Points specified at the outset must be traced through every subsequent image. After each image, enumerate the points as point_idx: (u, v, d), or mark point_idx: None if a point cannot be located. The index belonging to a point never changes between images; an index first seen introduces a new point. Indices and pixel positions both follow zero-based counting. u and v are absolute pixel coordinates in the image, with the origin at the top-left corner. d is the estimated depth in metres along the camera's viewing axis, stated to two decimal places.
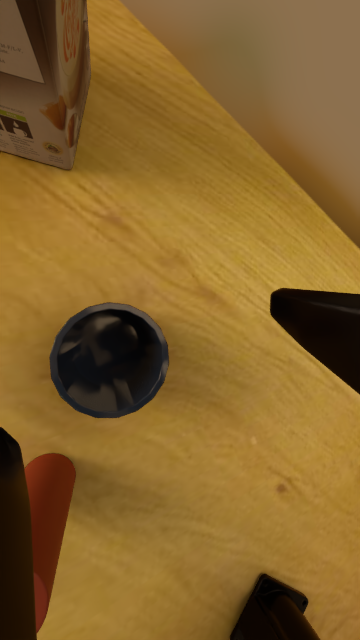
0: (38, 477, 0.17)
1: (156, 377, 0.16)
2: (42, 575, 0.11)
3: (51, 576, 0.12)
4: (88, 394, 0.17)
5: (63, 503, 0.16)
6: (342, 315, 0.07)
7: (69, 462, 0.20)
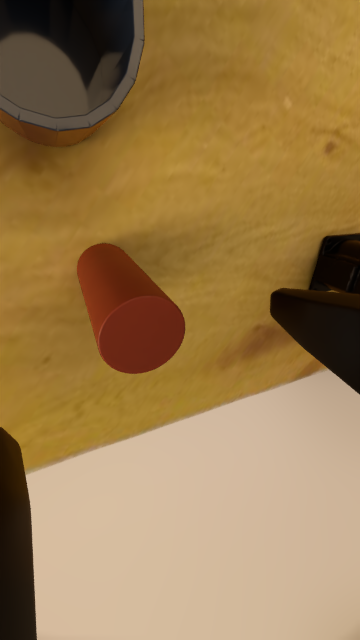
0: (92, 262, 0.15)
1: (126, 1, 0.09)
2: (159, 295, 0.11)
3: (167, 296, 0.12)
4: None
5: (133, 263, 0.15)
6: (342, 315, 0.07)
7: (111, 245, 0.18)
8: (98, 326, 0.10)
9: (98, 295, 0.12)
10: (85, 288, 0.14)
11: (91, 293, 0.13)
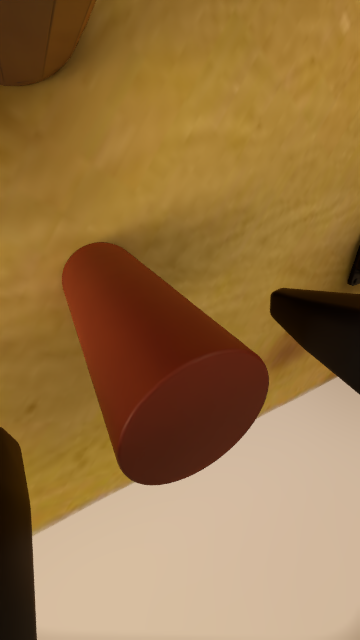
0: (86, 274, 0.10)
1: None
2: (233, 345, 0.05)
3: None
4: None
5: (151, 273, 0.09)
6: (342, 315, 0.07)
7: (109, 244, 0.12)
8: (115, 422, 0.05)
9: (104, 344, 0.06)
10: (78, 320, 0.09)
11: (90, 335, 0.07)
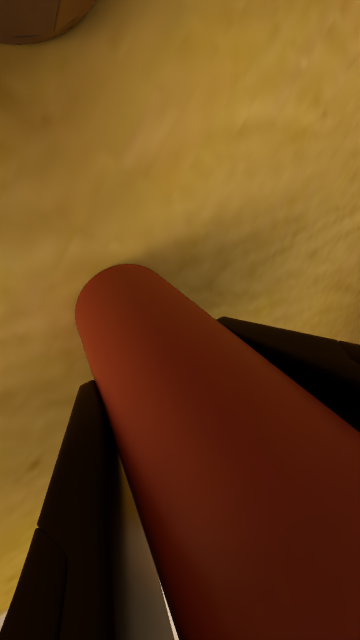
0: (115, 320, 0.07)
1: None
2: None
3: None
4: None
5: (210, 320, 0.06)
6: (272, 356, 0.06)
7: (136, 266, 0.09)
8: None
9: (177, 492, 0.03)
10: (108, 398, 0.06)
11: (139, 447, 0.04)
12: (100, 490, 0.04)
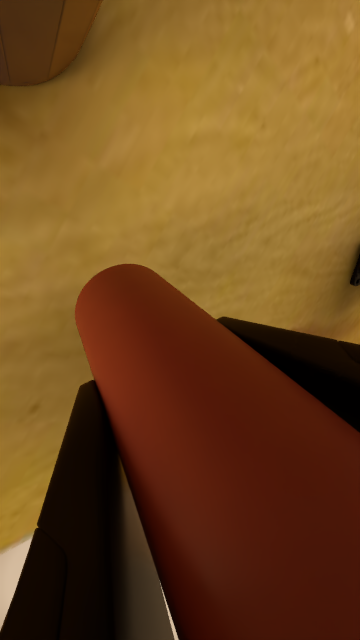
0: (115, 319, 0.07)
1: None
2: None
3: None
4: None
5: (210, 319, 0.06)
6: (272, 356, 0.06)
7: (136, 266, 0.09)
8: None
9: (176, 491, 0.03)
10: (108, 397, 0.06)
11: (138, 447, 0.04)
12: (100, 490, 0.04)
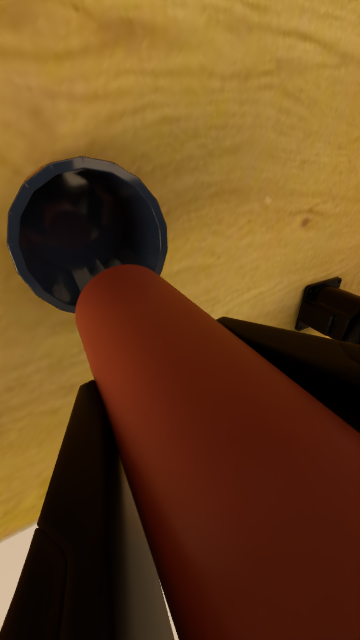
0: (115, 320, 0.07)
1: (154, 225, 0.13)
2: None
3: None
4: None
5: (211, 320, 0.06)
6: (272, 356, 0.06)
7: (137, 267, 0.09)
8: None
9: (177, 492, 0.03)
10: (108, 398, 0.06)
11: (139, 448, 0.04)
12: (100, 490, 0.04)
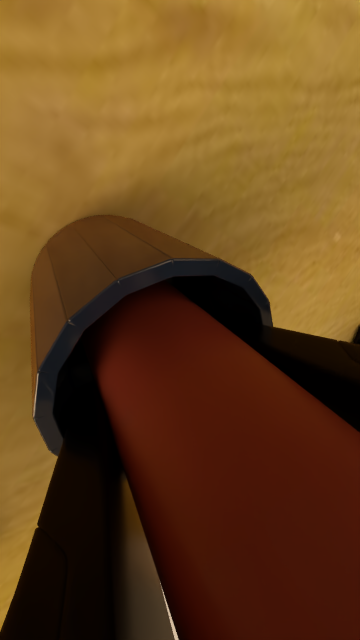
0: (115, 320, 0.07)
1: None
2: None
3: None
4: None
5: (210, 320, 0.06)
6: (272, 356, 0.06)
7: None
8: None
9: (177, 492, 0.03)
10: (108, 398, 0.06)
11: (139, 447, 0.04)
12: (100, 490, 0.04)
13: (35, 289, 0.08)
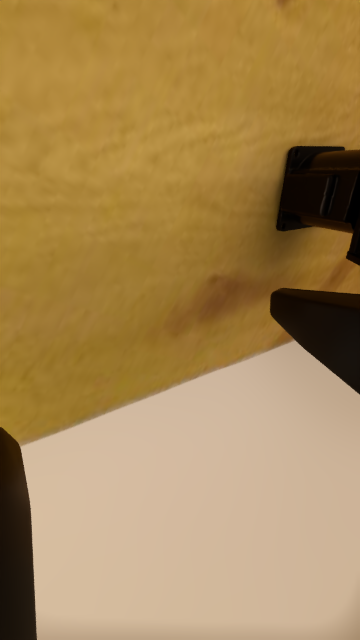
0: None
1: None
2: None
3: None
4: None
5: None
6: (342, 315, 0.07)
7: None
8: None
9: None
10: None
11: None
12: None
13: None
